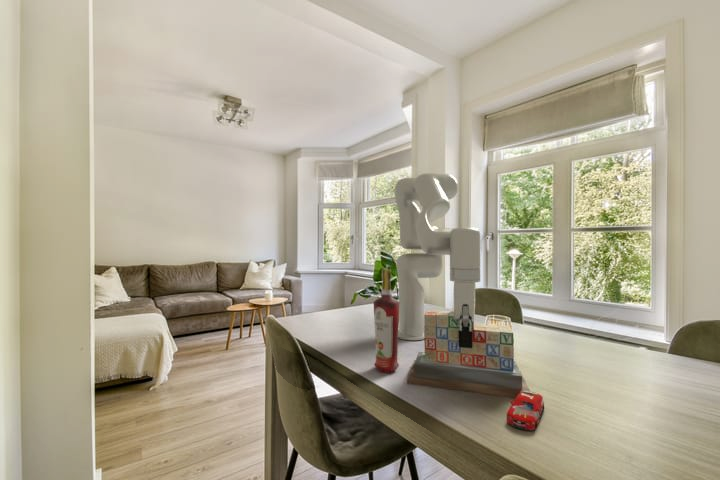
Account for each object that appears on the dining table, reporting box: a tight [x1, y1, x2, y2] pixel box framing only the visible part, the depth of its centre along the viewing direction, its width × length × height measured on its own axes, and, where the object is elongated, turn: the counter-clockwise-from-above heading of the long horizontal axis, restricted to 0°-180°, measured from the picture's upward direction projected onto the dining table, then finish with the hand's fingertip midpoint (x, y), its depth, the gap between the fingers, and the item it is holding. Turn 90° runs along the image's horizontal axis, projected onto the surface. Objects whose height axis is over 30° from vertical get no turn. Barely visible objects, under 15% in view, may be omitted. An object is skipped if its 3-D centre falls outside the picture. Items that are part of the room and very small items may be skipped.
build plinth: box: [406, 351, 531, 399], centre depth 83 cm, size 13×28×5 cm, turn 73°
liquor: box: [373, 268, 400, 374], centre depth 91 cm, size 7×7×28 cm
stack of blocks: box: [423, 309, 515, 371], centre depth 84 cm, size 21×6×12 cm, turn 69°
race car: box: [506, 390, 545, 432], centre depth 66 cm, size 13×5×4 cm, turn 140°
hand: (465, 341), depth 83 cm, fingers open, 9 cm apart
